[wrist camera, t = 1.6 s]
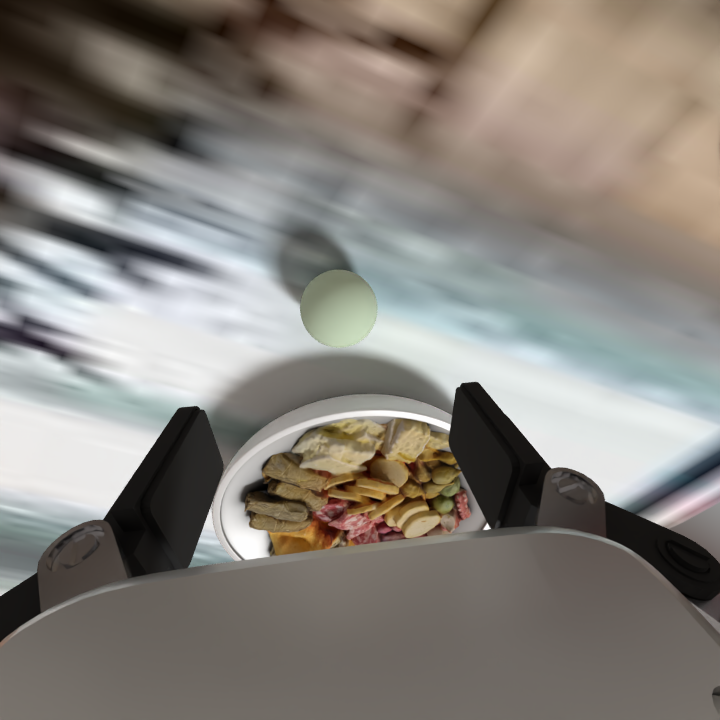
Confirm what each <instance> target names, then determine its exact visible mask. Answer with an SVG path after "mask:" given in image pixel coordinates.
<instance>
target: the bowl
mask: <svg viewBox="0 0 720 720" xmlns="http://www.w3.org/2000/svg"><path fill="white" fill-rule="evenodd" d="M451 419H452V415H450V414H449V413H447V412H445V411H443V410H441V409H439V408H437V407H434V406H432V405H429V404H427V403H424V402H420V401H417V400H414V399H409V398H405V397H400V396H393V395H383V394H356V395H346V396H339V397H334V398H329V399H324V400H321V401H317V402H314V403H310V404H307V405H305V406H302V407H299V408H297V409H295V410H293V411H290V412H288V413H286V414H284V415H283V416H281V417H279V418H277V419H275V420H274V421H272V422H270V423H269V424H268V425H266V426H265V427H263V428H262V429H261V430H259V431H258V432H257V433H256V434H254V435H253V436H252V437H251V438H250V439H249V440H248V441H247V442H246V443H245V444H244V445H243V446H242V447H241V448H240V449H239V451H238V452H237V453H236V455H235V456H234V457H233V459H232V460H231V462H230V463H229V465H228V466H227V468H226V470H225V472H224V474H223V476H222V478H221V480H220V483H219V485H218V488H217V490H216V494H215V497H214V501H213V509H212V518H213V525H214V529H215V532H216V535H217V537H218V539H219V541H220V543H221V544H222V546H223V548H224V549H225V550H226V552H227V553H228V554H229V555H230V556H231V557H232V558H233V559H234V560H235V561H241V560H248V559H256V558H263V557H271V556H278V555H286V554H293V553H301V552H309V551H316V550H324V549H332V548H339V547H347V546H355V545H363V544H371V543H379V542H387V541H395V540H403V539H411V538H419V537H427V536H435V535H444V534H452V533H460V532H469V531H478V530H488V529H489V528H490V527H489V525H488V523H487V521H486V519H485V517H484V515H483V513H482V511H481V509H480V507H479V505H478V503H477V501H476V499H475V497H474V495H473V493H472V491H471V489H470V487H469V485H468V483H467V481H466V479H465V477H464V475H463V473H462V472H461V470H460V468H459V466H458V464H457V462H456V460H455V458H454V456H453V454H452V452H451V450H450V447H449V442H448V440H449V432H450V426H451Z"/></svg>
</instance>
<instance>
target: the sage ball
mask: <svg viewBox="0 0 720 720" xmlns="http://www.w3.org/2000/svg"><path fill="white" fill-rule="evenodd" d="M300 313H301V318H302V321H303V324H304V326H305V328H306V330H307V331H308V333H309V334H310V335H311V336H312V337H313V338H314V339H315V340H317V341H318V342H320V343H322V344H324V345H327V346H330V347H336V348H343V347H348V346H352V345H354V344H356V343H358V342H360V341H361V340H363V339H364V338H365V337H366V336H367V335H368V334H369V333H370V331H371V330H372V328H373V326H374V324H375V321H376V317H377V301H376V297H375V294H374V292H373V290H372V288H371V287H370V286H369V284H368V283H367V282H366V281H365V280H364V279H363V278H362V277H360V276H359V275H357V274H355V273H353V272H350V271H346V270H330V271H327V272H324V273H322V274H320V275H318V276H317V277H315V278H314V279H313V280H312V281H311V282H310V283H309V284H308V286H307V287H306V289H305V291H304V292H303V295H302V298H301V304H300Z"/></svg>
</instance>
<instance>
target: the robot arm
mask: <svg viewBox="0 0 720 720" xmlns="http://www.w3.org/2000/svg"><path fill="white" fill-rule="evenodd" d="M448 442H449V447H450V450H451V452H452V454H453V456H454V458H455V460H456V462H457V464H458V466H459V468H460V470H461V472H462V473H463V475H464V477H465V479H466V481H467V483H468V485H469V487H470V489H471V491H472V493H473V495H474V497H475V499H476V501H477V503H478V505H479V507H480V509H481V511H482V513H483V515H484V517H485V519H486V521H487V523H488V525H489V527H490V528H491V529H488V530H478V531H469V532H460V533H452V534H444V535H435V536H427V537H419V538H411V539H403V540H395V541H387V542H379V543H371V544H363V545H355V546H347V547H339V548H332V549H324V550H316V551H309V552H301V553H293V554H286V555H278V556H271V557H263V558H256V559H248V560H241V561H233V562H226V563H218V564H211V565H205V566H198V567H191V568H188V566H189V565H190V562H191V560H192V557H193V554H194V551H195V548H196V546H197V543H198V540H199V537H200V535H201V532H202V529H203V526H204V523H205V521H206V518H207V515H208V512H209V509H210V507H211V504H212V501H213V498H214V496H215V493H216V490H217V487H218V484H219V482H220V479H221V476H222V473H223V461H222V458H221V455H220V452H219V449H218V447H217V444H216V441H215V438H214V435H213V432H212V430H211V427H210V424H209V421H208V418H207V415H206V413H205V411H204V410H200V408H199V407H197V406H193V407H181V408H179V409H178V410H177V411H176V413H175V414H174V415H173V417H172V418H171V420H170V421H169V423H168V424H167V426H166V427H165V429H164V430H163V432H162V433H161V435H160V436H159V438H158V439H157V441H156V442H155V444H154V445H153V447H152V448H151V450H150V451H149V453H148V454H147V455H146V457H145V458H144V460H143V461H142V463H141V464H140V466H139V467H138V469H137V470H136V472H135V473H134V475H133V476H132V478H131V479H130V481H129V482H128V484H127V485H126V487H125V488H124V490H123V491H122V493H121V494H120V495H119V497H118V498H117V500H116V501H115V503H114V504H113V506H112V507H111V509H110V510H109V512H108V513H107V515H106V516H105V518H104V519H103V520H92V521H88V522H85V523H82V524H80V525H78V526H76V527H73V528H72V529H70V530H68V531H67V532H65V533H64V534H62V535H61V536H60V537H59V538H57V539H56V540H55V541H54V542H53V543H52V544H51V545H50V546H49V547H48V548H47V549H46V551H45V552H44V553H43V555H42V557H41V558H40V560H39V562H38V568H37V573H36V574H34V575H33V576H31V577H30V578H28V579H27V580H25V581H23V582H22V583H20V584H19V585H17V586H16V587H14V588H13V589H11V590H9V591H8V592H6V593H5V594H3V595H2V596H0V720H720V564H719V562H718V561H717V560H716V559H715V558H714V557H713V556H712V555H711V554H710V553H709V552H708V551H707V550H706V549H704V548H703V547H701V546H700V545H698V544H697V543H696V542H694V541H692V540H690V539H688V538H686V537H685V536H683V535H680V534H678V533H676V532H674V531H671V530H669V529H667V528H665V527H662V526H660V525H658V524H656V523H653V522H651V521H649V520H647V519H644V518H642V517H640V516H637V515H635V514H633V513H631V512H628V511H626V510H624V509H622V508H619V507H617V506H615V505H613V504H610V503H608V502H606V501H605V498H604V494H603V492H602V491H601V489H600V488H599V486H598V485H597V484H596V483H595V482H594V481H593V480H591V479H590V478H588V477H587V476H585V475H584V474H582V473H580V472H577V471H575V470H572V469H568V468H560V467H558V468H553V469H551V468H550V467H549V465H548V464H547V463H546V462H545V461H544V459H543V458H542V457H541V456H540V455H539V453H538V452H537V451H536V450H535V449H534V447H533V446H532V445H531V444H530V443H529V441H528V440H527V439H526V438H525V437H524V435H523V434H522V433H521V432H520V431H519V429H518V428H517V427H516V426H515V425H514V423H513V422H512V421H511V420H510V419H509V418H508V417H507V416H506V415H505V414H504V413H503V412H502V410H501V409H500V408H499V407H498V406H497V404H496V403H495V402H494V401H493V399H492V398H491V397H490V396H489V395H488V393H487V392H486V391H485V390H484V389H483V387H482V386H481V385H480V384H479V383H478V382H469V383H462V384H461V385H460V387H458V388H457V389H456V393H455V400H454V406H453V413H452V419H451V426H450V432H449V440H448Z"/></svg>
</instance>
